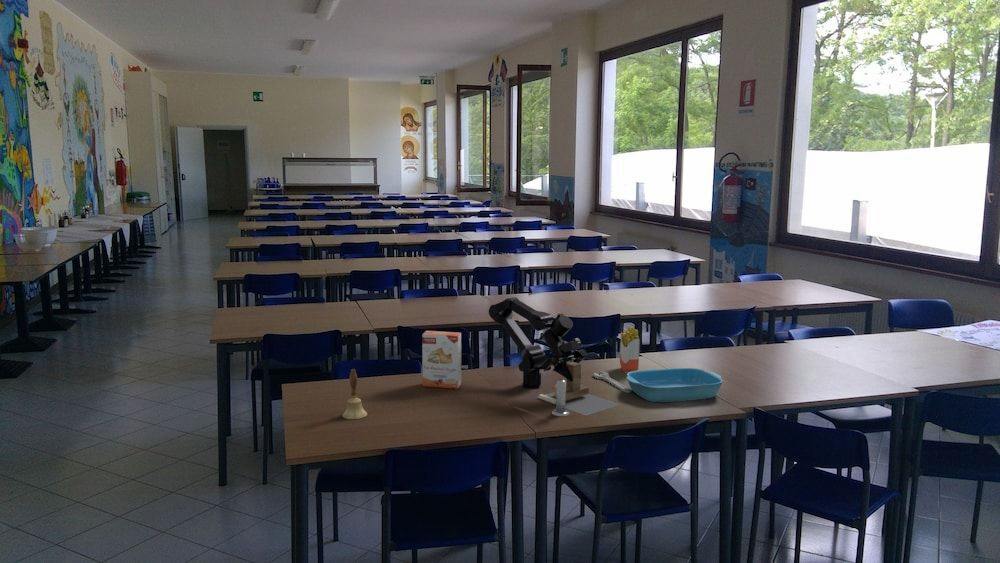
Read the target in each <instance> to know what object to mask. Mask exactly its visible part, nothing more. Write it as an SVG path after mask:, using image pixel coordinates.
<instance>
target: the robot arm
mask: <svg viewBox="0 0 1000 563" xmlns="http://www.w3.org/2000/svg"><path fill="white" fill-rule="evenodd" d="M513 312H514V313H515V314H517V315H518V316H520V317H522V318H523V319H525V320H527V321H528V322H529V325H530V326H531V327H532V328H533V329H534V330H535V331H537V332H539V331H544V332H541V333H540V334H539V341H544V342H545V343H546V345H547V346H548V347H547V348H548V349H549V350H548V354H552V356H548V357H547V356H546V352H545V351H544V350H543V349H542V347H541V346H540V345H539V344H536V345H534V344H532V343H531V342H530V340H529V339H528V337H527V336H526V335H525V333H524V332H523V330H522V329H521V328H520V326H519V324H517V322H516V321H515V319H514V318H513ZM488 315H489V317H490V318H491V319H492V320H493V321H494V322H495V323H497V324H499V325H500V326H502V327H503V329H504V330H505V331H506V332H507V334H508V336H509V337H510V338H511V339H512V341H513V343H514V344H515V346H517V348H518V350H519V351H520V353H521V354H520V355H521V360H522V361H521V362H520V363H519V364H518V370H519V371H520V372H522V373H523V374H522V388H524V389H525V388H530V389H539V388H540V386H541V385H542V373H541V370H542V371H544V372H548V371H550V370H551V369H552V366H553V369H552V371H553V372H556V373H557V374H559V375H561V376H562V377H564V378H567V379H568V380H569V381H571V382H572V381H573V378H572V375H571V374H570V372H569V370H568V368H567V363H572V362H576V363H579V364H581V362H582V361H583V360H584V359H585V358H586V357H587V356H588V355H589V354H588V352H587V351H586V349H584V348H583V349H581V348H580V347H581V346H582V341H581V340H580V338H578V337H576V338H572V340H571V341H569V342H568V341H566V340H563V339H562V337H564V336H565V335H566V334H568V332H569V331H570V330H571V329H572V328H573V326H574V323H573V320H572V319H571V318H569V317H568V316H567V315H564V313H563V312H562V313H558V314H556V317H553V314H551V313H548V312H545V311H540V310H536V309H534V308H532V307H531V306H529V305H528V304H526V303H524V302H523V301H522V300H519V299H518V297H508V298H506V299H504V300H502V301H500V302H498V303H496V304H495V303H494V304H491V305H490V306H489V309H488ZM575 350H576V351H575Z"/></svg>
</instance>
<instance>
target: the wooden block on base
mask: <svg viewBox="0 0 1000 563" xmlns="http://www.w3.org/2000/svg"><path fill="white" fill-rule="evenodd" d="M567 368H568V370H569V372H570V374H571V375H572V378H573V381H572V382H571V381H569V380H568V379H567V378H566V379H565V380H566V401H567V400H570V399H573V398H577V397H580V396H584V395H587V394H590V393H589V388H590V387H588V386H587V385H582V384H581V382H582V381H581V379H582V363H576V362H572V363H568V362H567Z"/></svg>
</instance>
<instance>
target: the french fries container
mask: <svg viewBox="0 0 1000 563" xmlns="http://www.w3.org/2000/svg"><path fill="white" fill-rule="evenodd" d="M640 340H641V339H640V336H639V330H638V329H635V328H634V326H627V330H625V331H624V332H620V348H619V365H620V369H621V370H622V371H623V372H624V373H625V372H626V374H627V373H628V372H632V371H639V370H638V369H639V362H640Z"/></svg>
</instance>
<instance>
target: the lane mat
mask: <svg viewBox="0 0 1000 563" xmlns="http://www.w3.org/2000/svg"><path fill="white" fill-rule="evenodd" d="M535 398H537V399H539V400H541V401H543V402H544V401H545V402H547V403H549V404H553V405H555V406H556V396H554V391H553V392H550V393H546V394H543V393H541V394H539V395H538V396H535ZM621 405H622V404H621V403H618V402H615V401H612V400H608V399H606V398H603V397H599V396H598V395H597V396H596V395H593V394H591V393H589V394H587V395H584V396H580V397H577V398H573V399H570V400H567V401H566V410H568V411H571V412H574V413H577V414H579V415H583V416H585V417H586V416H589V415H592V414H596V413H597V414H598V413H599V412H603V411H607V410H609V409H613V408H615V407H618V406H621Z"/></svg>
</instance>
